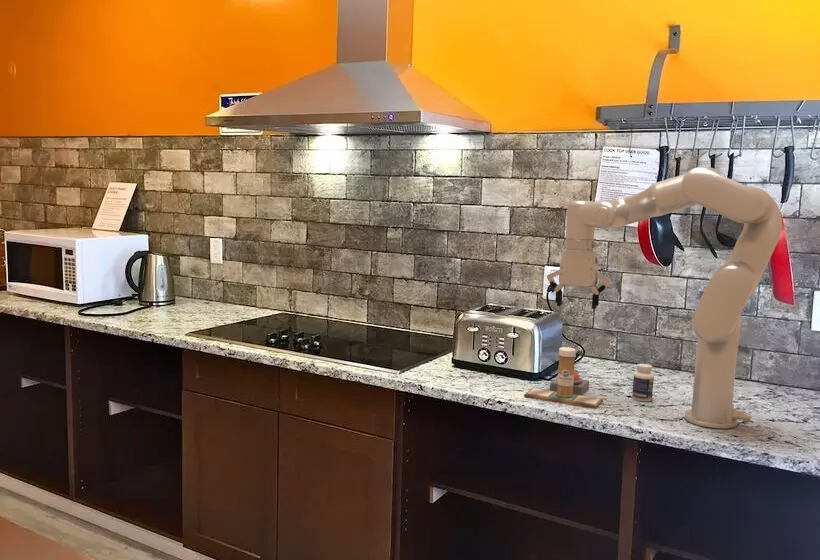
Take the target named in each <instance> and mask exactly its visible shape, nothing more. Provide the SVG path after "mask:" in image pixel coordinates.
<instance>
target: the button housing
mask: <svg viewBox="0 0 820 560" xmlns="http://www.w3.org/2000/svg"><path fill="white" fill-rule="evenodd" d="M557 385H558V376H557V377H555V378H554V379H553V380H552V381H551V382H549V390H550V391H557ZM589 389H590V380H589V379H583V378H582V382H581V383H578V384H577V385H573V394H576V395H582V396H584V394H585V393H587V392H588V390H589Z"/></svg>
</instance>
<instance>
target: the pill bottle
mask: <svg viewBox="0 0 820 560" xmlns="http://www.w3.org/2000/svg"><path fill="white" fill-rule="evenodd" d="M652 370H653V365H651V364H648V363H637V365H636V371H635V372H634V374H633V382H632V395H631V397H632V399H633V400H635V401H639V402H651V401H653V393H654V392H653V391H654V380H655V377H654V376H655V375H654V374H653V373H652Z"/></svg>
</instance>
